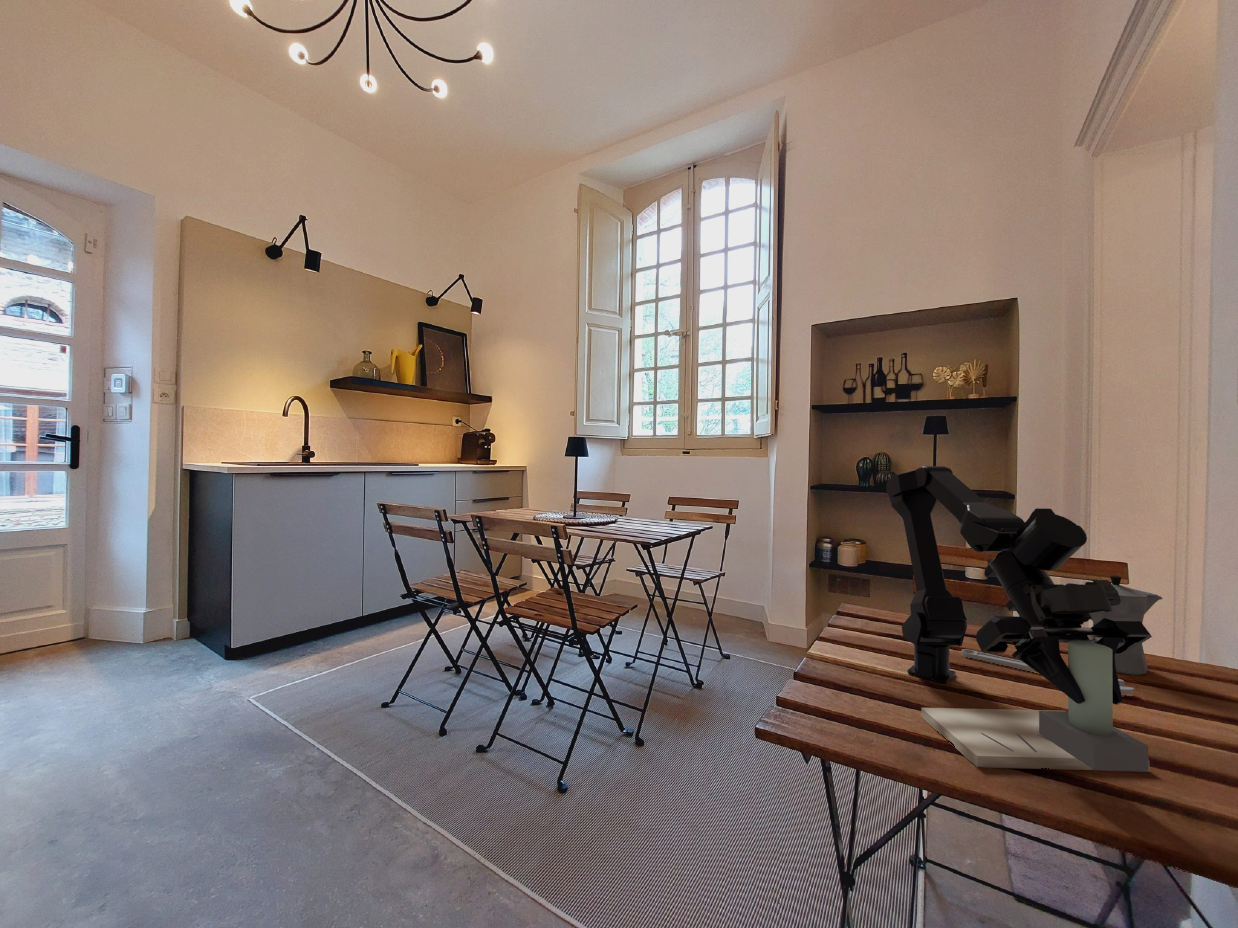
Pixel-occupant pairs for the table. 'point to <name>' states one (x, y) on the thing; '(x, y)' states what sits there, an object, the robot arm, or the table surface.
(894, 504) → the robot arm
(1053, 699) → the table surface
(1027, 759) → the birch board
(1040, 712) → the block
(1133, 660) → the coffeepot
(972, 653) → the adjustable wrench
